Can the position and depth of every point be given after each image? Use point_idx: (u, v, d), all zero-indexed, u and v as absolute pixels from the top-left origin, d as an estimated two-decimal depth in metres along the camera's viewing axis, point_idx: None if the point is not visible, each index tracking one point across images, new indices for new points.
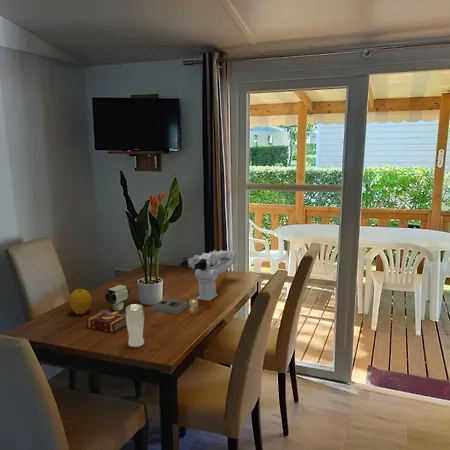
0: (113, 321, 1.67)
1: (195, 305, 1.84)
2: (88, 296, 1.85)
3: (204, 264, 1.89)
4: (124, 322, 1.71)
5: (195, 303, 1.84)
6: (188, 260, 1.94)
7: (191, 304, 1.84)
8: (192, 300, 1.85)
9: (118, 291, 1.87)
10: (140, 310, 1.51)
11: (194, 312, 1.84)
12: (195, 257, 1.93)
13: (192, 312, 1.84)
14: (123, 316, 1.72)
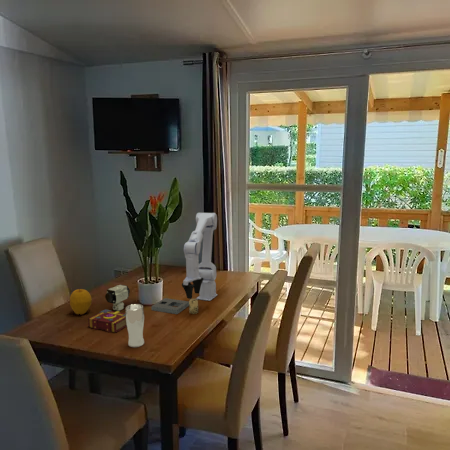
0: (114, 321, 1.67)
1: (195, 305, 1.84)
2: (88, 296, 1.85)
3: None
4: None
5: (195, 303, 1.84)
6: (190, 281, 1.80)
7: (191, 304, 1.84)
8: (192, 300, 1.85)
9: (118, 291, 1.87)
10: (140, 310, 1.51)
11: (194, 312, 1.84)
12: None
13: (192, 312, 1.84)
14: (125, 316, 1.72)
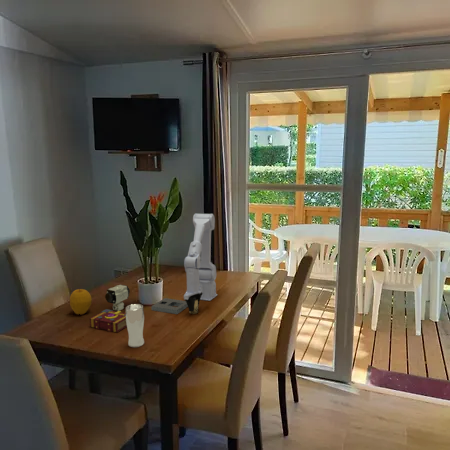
0: (116, 320, 1.68)
1: (195, 305, 1.84)
2: (88, 296, 1.85)
3: None
4: None
5: (195, 303, 1.84)
6: None
7: None
8: None
9: (118, 291, 1.87)
10: (140, 310, 1.51)
11: (194, 312, 1.84)
12: None
13: (192, 312, 1.84)
14: None
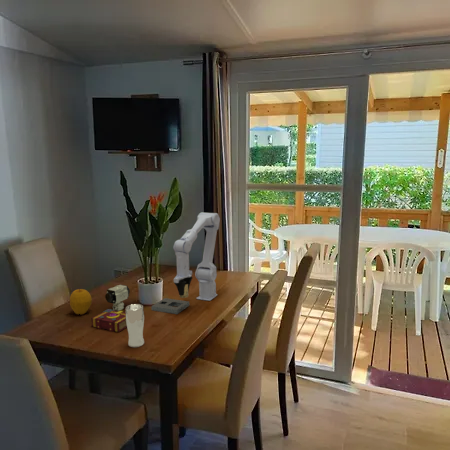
0: (117, 320, 1.68)
1: (185, 289, 1.85)
2: (88, 296, 1.85)
3: None
4: None
5: (185, 287, 1.85)
6: (180, 278, 1.82)
7: None
8: None
9: (118, 291, 1.87)
10: (140, 310, 1.51)
11: (184, 296, 1.86)
12: None
13: (182, 296, 1.86)
14: None
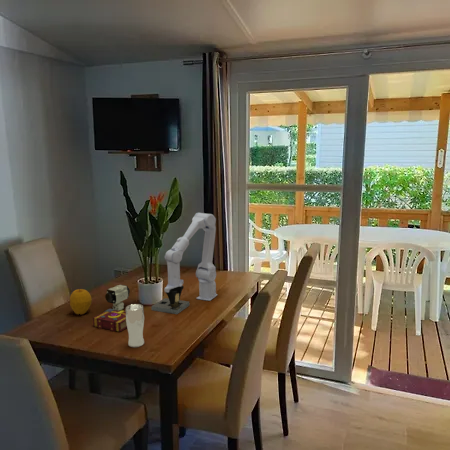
0: (119, 320, 1.68)
1: (176, 298, 1.89)
2: (88, 296, 1.85)
3: None
4: None
5: (176, 296, 1.89)
6: None
7: None
8: None
9: (118, 291, 1.87)
10: (140, 310, 1.51)
11: (175, 305, 1.89)
12: None
13: (173, 305, 1.89)
14: None
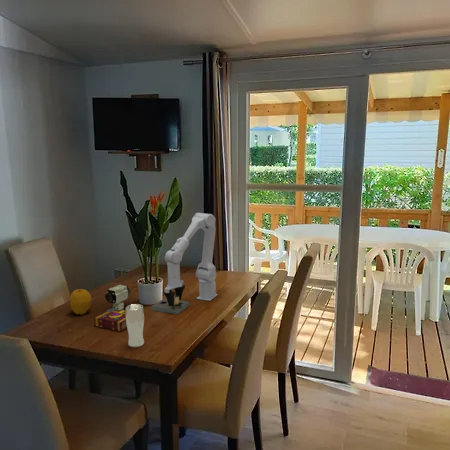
0: (120, 320, 1.68)
1: (176, 301, 1.89)
2: (88, 296, 1.85)
3: None
4: None
5: (176, 299, 1.89)
6: (171, 288, 1.85)
7: None
8: None
9: (118, 291, 1.87)
10: (140, 310, 1.51)
11: None
12: None
13: None
14: None
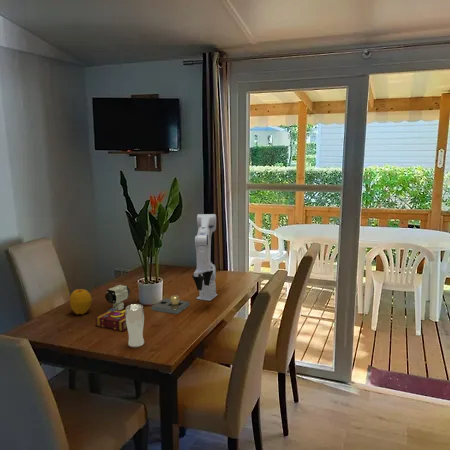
0: (122, 319, 1.69)
1: (176, 301, 1.89)
2: (88, 296, 1.85)
3: None
4: None
5: (176, 299, 1.89)
6: (200, 272, 1.84)
7: (172, 300, 1.89)
8: (173, 297, 1.90)
9: (118, 291, 1.87)
10: (140, 310, 1.51)
11: None
12: None
13: None
14: None
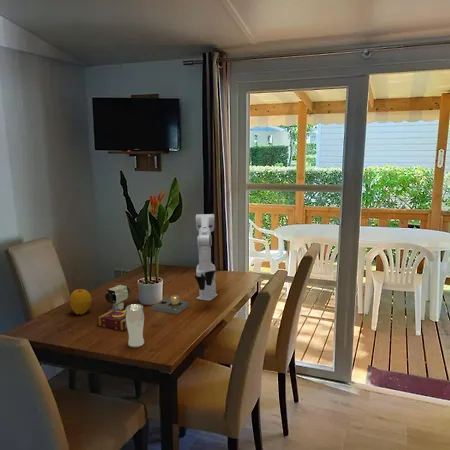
0: (123, 319, 1.69)
1: (176, 301, 1.89)
2: (88, 296, 1.85)
3: None
4: None
5: (176, 299, 1.89)
6: (203, 272, 1.84)
7: (172, 300, 1.89)
8: (173, 297, 1.90)
9: (118, 291, 1.87)
10: (140, 310, 1.51)
11: None
12: None
13: None
14: None
